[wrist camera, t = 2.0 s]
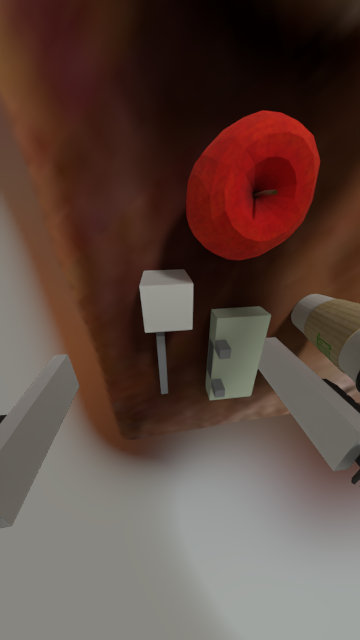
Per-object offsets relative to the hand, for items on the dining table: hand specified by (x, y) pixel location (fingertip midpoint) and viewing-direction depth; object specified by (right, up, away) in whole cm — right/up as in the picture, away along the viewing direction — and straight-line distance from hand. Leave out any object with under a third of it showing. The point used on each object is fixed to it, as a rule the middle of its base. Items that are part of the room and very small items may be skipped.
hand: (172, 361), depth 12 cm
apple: (+5, +17, +9) cm, 20 cm away
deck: (+5, -3, +19) cm, 20 cm away
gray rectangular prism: (-2, +7, +13) cm, 15 cm away
